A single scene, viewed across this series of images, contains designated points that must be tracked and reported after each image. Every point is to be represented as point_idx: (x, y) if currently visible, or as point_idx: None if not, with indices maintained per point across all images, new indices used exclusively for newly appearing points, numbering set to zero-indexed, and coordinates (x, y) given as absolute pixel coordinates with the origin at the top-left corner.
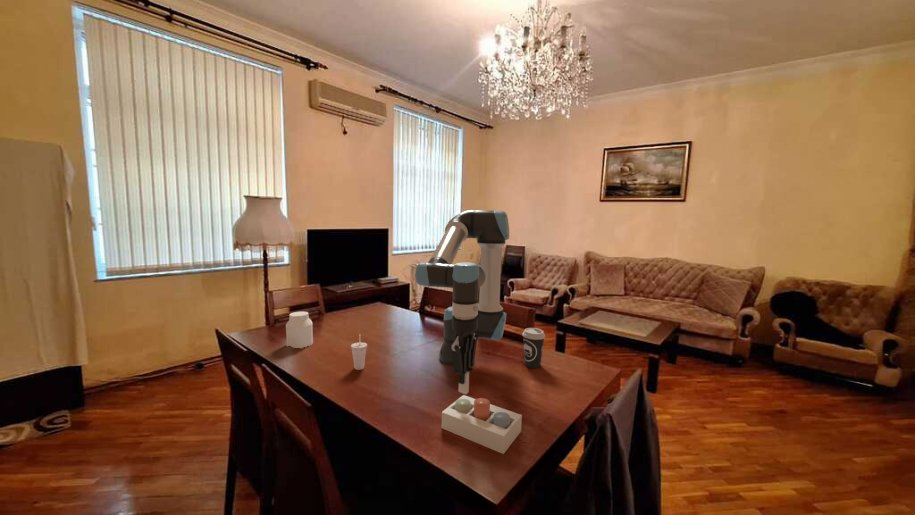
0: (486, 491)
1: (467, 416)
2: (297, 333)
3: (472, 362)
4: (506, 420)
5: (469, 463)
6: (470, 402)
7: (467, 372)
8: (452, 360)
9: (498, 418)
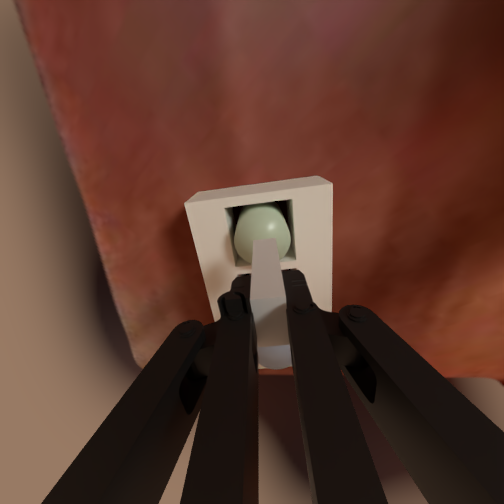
0: (142, 358)
1: (228, 277)
2: None
3: (356, 381)
4: (268, 367)
5: (163, 311)
6: (280, 258)
7: (275, 343)
8: (89, 440)
9: (262, 353)
